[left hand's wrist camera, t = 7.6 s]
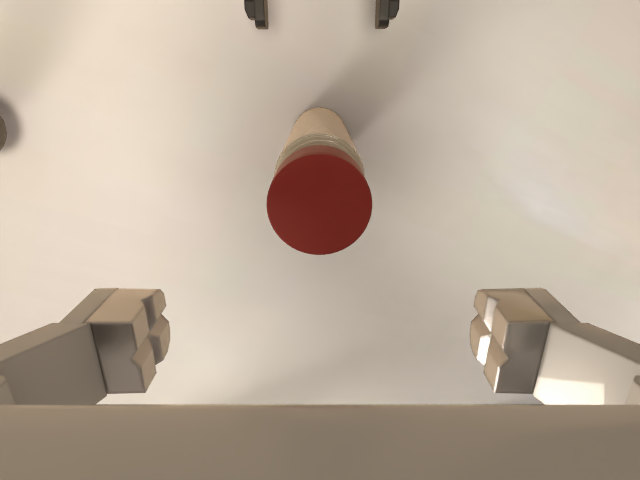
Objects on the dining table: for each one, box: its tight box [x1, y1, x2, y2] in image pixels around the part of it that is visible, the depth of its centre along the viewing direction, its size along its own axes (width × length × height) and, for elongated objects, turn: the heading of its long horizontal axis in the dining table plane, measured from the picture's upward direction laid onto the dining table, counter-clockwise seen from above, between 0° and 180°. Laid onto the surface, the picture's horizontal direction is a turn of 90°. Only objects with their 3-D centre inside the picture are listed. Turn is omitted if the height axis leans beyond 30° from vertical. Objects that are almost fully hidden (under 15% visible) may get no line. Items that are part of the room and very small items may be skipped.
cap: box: [267, 145, 372, 255], centre depth 19 cm, size 5×5×2 cm
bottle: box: [274, 107, 364, 176], centre depth 29 cm, size 5×5×22 cm
